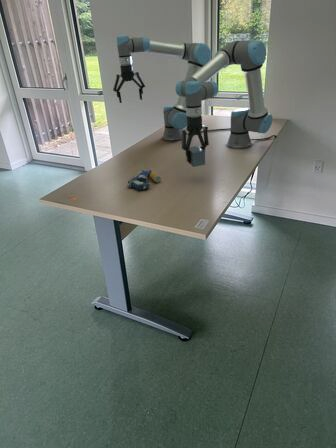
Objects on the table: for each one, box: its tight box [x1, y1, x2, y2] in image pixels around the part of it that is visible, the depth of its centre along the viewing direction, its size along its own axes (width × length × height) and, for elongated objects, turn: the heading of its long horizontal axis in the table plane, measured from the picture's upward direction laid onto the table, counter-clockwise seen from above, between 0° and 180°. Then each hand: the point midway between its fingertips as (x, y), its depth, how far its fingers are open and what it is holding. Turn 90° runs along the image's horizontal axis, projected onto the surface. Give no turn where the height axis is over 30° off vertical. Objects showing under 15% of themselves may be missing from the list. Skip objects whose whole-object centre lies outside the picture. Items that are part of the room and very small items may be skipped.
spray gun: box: [126, 169, 162, 191], centre depth 181 cm, size 21×4×15 cm
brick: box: [185, 145, 206, 168], centre depth 173 cm, size 7×9×7 cm
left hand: (130, 101), depth 214 cm, fingers open, 13 cm apart
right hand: (195, 160), depth 174 cm, fingers closed on brick, 7 cm apart
